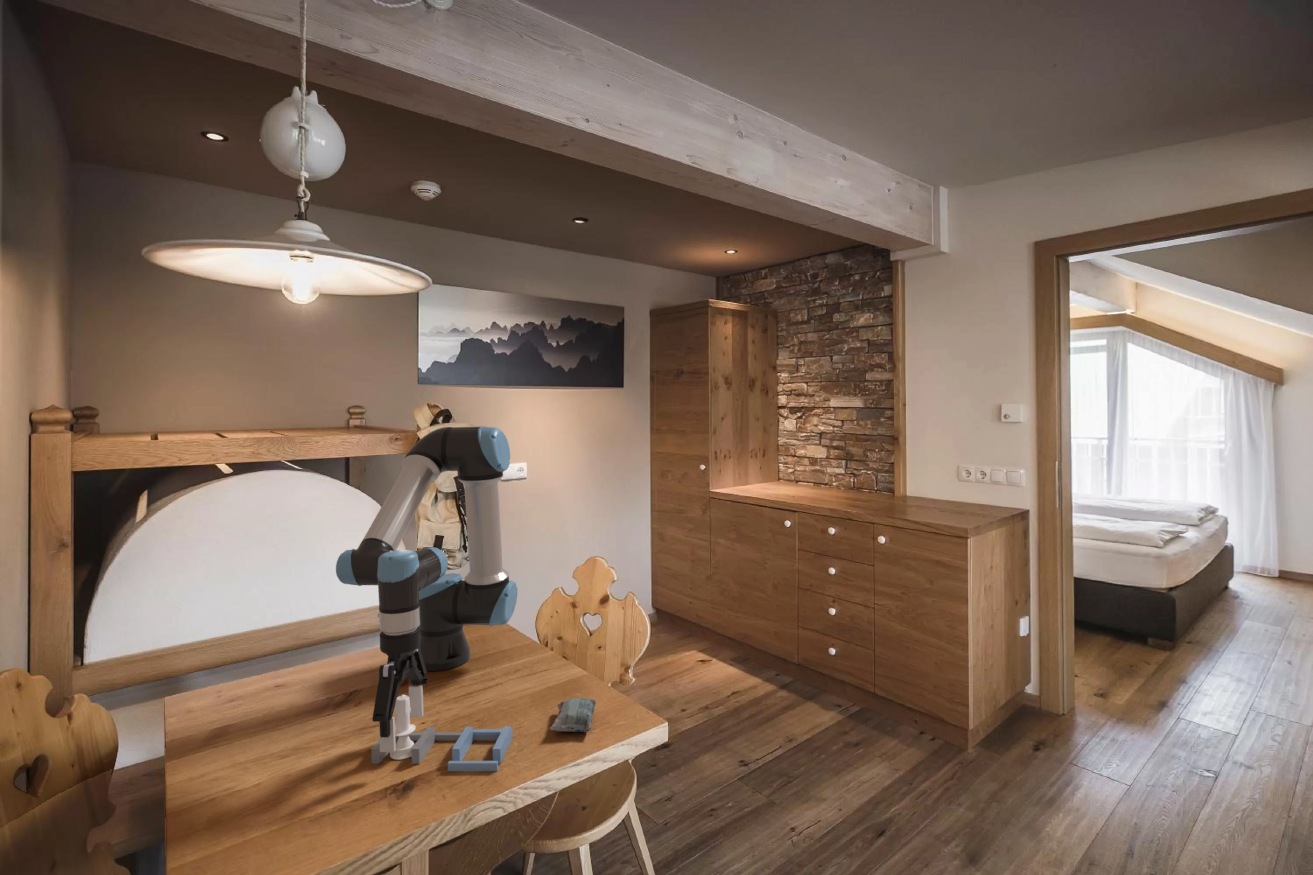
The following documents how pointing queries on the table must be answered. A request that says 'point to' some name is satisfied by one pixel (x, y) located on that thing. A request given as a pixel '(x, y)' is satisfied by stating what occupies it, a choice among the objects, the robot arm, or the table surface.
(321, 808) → the table surface
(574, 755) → the table surface
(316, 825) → the table surface
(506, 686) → the table surface
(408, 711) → the candle
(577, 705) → the packaged food
